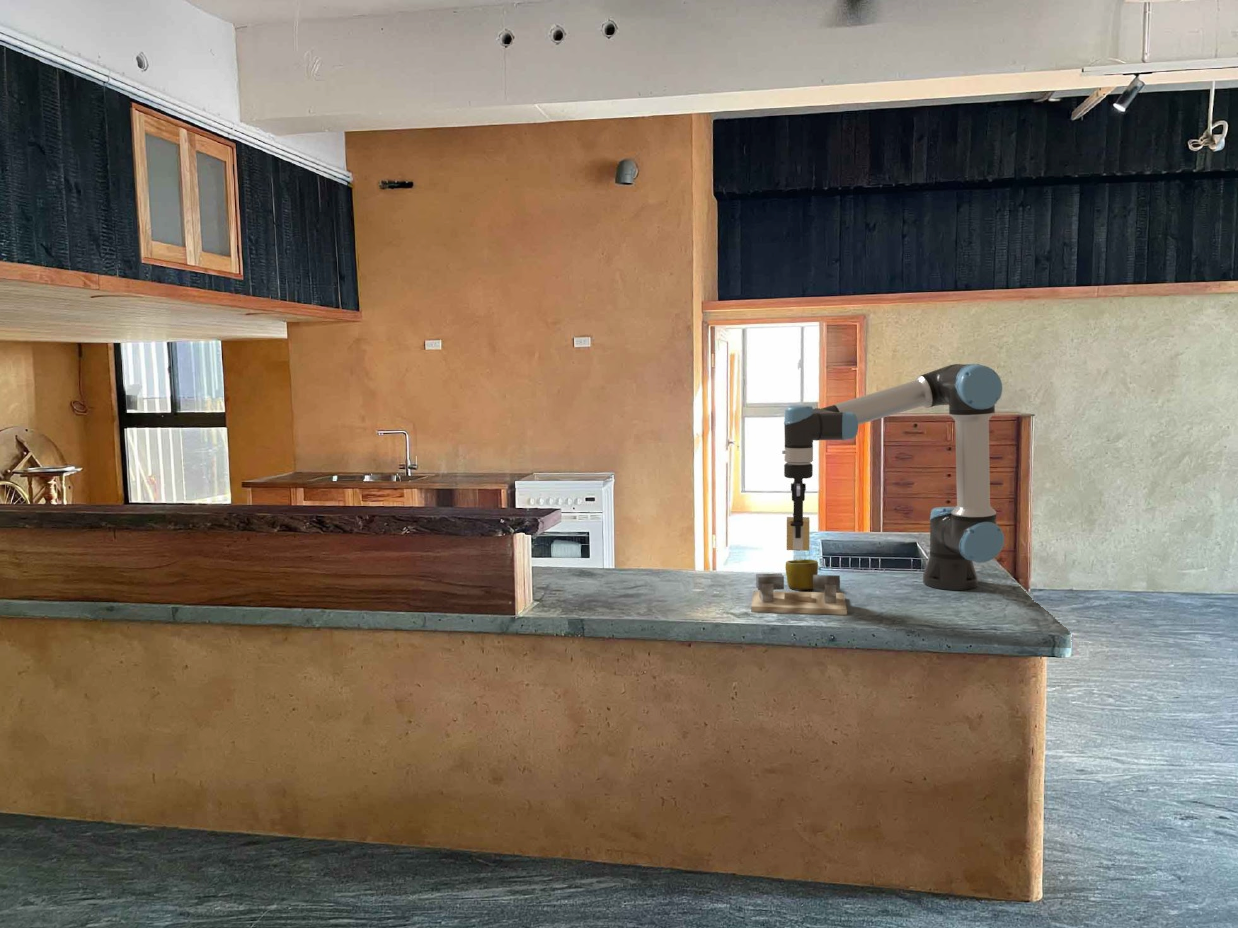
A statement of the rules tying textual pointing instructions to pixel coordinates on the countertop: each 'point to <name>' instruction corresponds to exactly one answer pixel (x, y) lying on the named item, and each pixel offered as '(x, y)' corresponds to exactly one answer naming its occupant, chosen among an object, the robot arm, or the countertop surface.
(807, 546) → the tan cardboard block
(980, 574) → the countertop surface
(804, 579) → the mug
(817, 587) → the shaft rig
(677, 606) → the countertop surface
